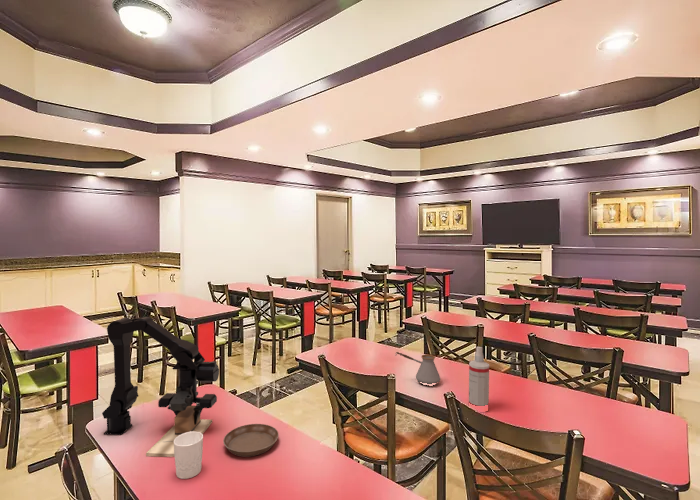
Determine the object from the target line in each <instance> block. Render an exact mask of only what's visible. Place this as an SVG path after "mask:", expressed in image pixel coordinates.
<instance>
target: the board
mask: <svg viewBox="0 0 700 500" xmlns="http://www.w3.org/2000/svg"><path fill="white" fill-rule="evenodd" d="M212 423H213V419H209V418H208V419H207V418H206V419H201V422H200V423H199V424H198V425H197V426H196V428H195V429H194V430H193V431H192V432H200V433H202V434H203V435H204V433H205V432H206V431H207V430H208V428H209V427H210V425H211V424H212ZM177 436H179V435H175V424H174V425H172V426H171V428H170V429H168V430H167V432H166V433H165V434H164V435H163V436H162V437H161V438H160V439H158V441H156V443H155V444H154V445H153V446H152V447H150V448H149V450H148V451H147V452H146V453H145V456H146V457H154V458H155V457H156V458H157V457H158V458H160V457H164V458H167V457H168V458H175V455H174V439H175V438H176V437H177Z"/></svg>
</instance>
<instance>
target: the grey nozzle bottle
mask: <svg viewBox="0 0 700 500" xmlns="http://www.w3.org/2000/svg"><path fill="white" fill-rule="evenodd" d="M475 351H476V352H475V355H474V360H470V361H469V363H468V366H469V367H468V404H469V403H470V404H472V405H475V406H485V405H488V403H490V395H489V394H490V364H489V363H488V362H487V361H484V360H485V359H484V353H483V347H482V346H476V350H475Z"/></svg>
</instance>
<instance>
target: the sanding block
mask: <svg viewBox="0 0 700 500" xmlns="http://www.w3.org/2000/svg"><path fill="white" fill-rule="evenodd" d="M195 407H196V405H192V406H188V407H186V409H185V410H184V411H181V412H180V413H179V414H177V415H175V416H174V425H175V435H181V434H183V433H187V432H192V431H193V430H194V429H195V428H196V426H197V425H198V424H199V423H200V422H201V418H202V417H201V416H200V417H199V419H198V422H197V424H196V425H195V424H194V414H195V411H194V410H193V409H194V408H195Z"/></svg>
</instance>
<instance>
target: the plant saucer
mask: <svg viewBox="0 0 700 500" xmlns="http://www.w3.org/2000/svg"><path fill="white" fill-rule="evenodd" d="M279 436H280V435H279V431H278V430H277V428H275V427H274V426H272V425H270V424H269V425H268V424H264V423H251V424H245V425H239V426H238V427H236V428H235V427H234V428H233V429H232V430H230V431H229V432H227V434H225V435H224V438H223V445H224V447H225V448H226V449H227V451H229V452H230V453H232V454H233V455H235V456H238V457H244V458H245V457H246V458H249V457H255V456H259V455H262V454H264V453H266V452H267V451H269V450H270V449H271V448H272V447H273V446H274V444H276V442H277V440H278V439H279Z"/></svg>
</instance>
